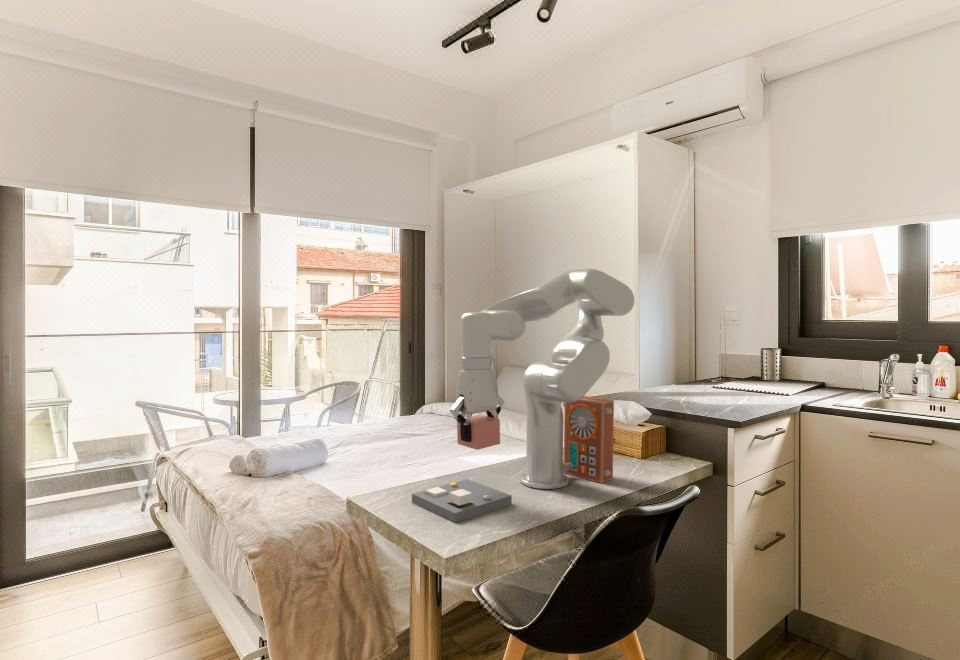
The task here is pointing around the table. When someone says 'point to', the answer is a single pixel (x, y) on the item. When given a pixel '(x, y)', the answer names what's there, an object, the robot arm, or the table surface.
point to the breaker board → (481, 503)
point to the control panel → (589, 438)
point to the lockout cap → (481, 432)
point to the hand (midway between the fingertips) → (478, 437)
